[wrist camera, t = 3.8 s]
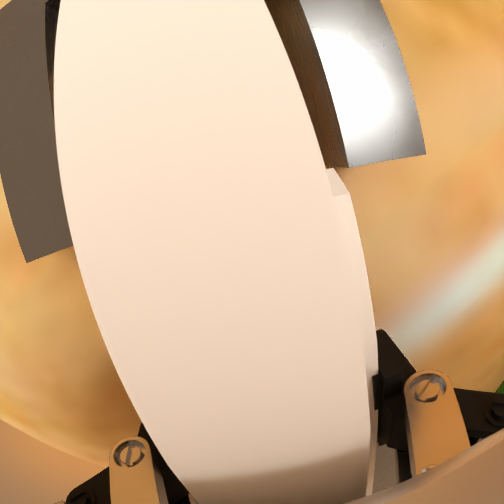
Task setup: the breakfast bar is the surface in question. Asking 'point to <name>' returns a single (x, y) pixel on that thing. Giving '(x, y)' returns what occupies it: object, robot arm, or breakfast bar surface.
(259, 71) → the cream elongated piece
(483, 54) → the breakfast bar surface
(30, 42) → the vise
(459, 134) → the breakfast bar surface
